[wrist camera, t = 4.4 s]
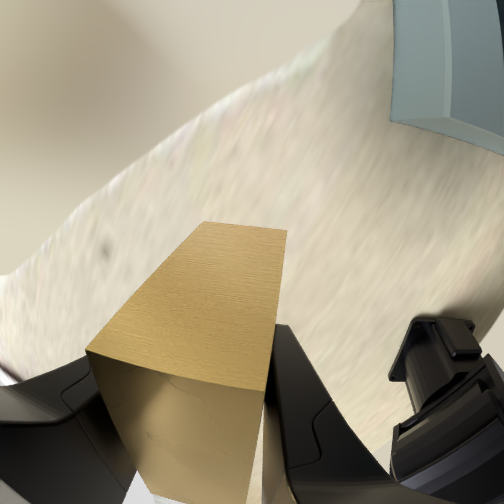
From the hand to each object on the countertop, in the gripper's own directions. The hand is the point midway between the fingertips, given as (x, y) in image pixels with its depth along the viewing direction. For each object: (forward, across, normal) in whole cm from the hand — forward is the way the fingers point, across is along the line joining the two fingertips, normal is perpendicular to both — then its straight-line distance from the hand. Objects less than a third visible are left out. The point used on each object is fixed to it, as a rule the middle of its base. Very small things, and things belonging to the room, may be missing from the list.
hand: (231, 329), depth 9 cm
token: (+1, 0, 0) cm, 1 cm away
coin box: (+11, -12, -13) cm, 21 cm away
